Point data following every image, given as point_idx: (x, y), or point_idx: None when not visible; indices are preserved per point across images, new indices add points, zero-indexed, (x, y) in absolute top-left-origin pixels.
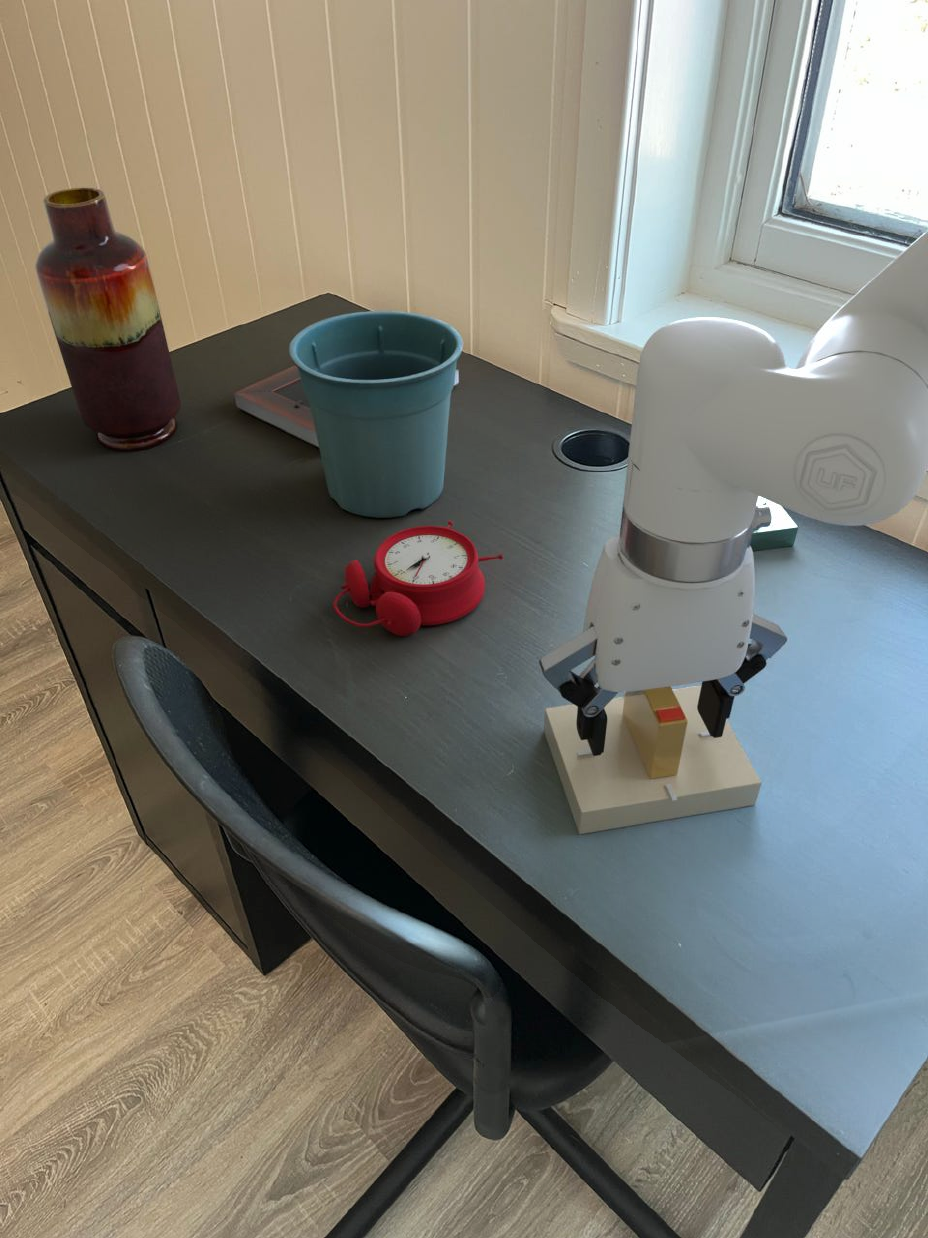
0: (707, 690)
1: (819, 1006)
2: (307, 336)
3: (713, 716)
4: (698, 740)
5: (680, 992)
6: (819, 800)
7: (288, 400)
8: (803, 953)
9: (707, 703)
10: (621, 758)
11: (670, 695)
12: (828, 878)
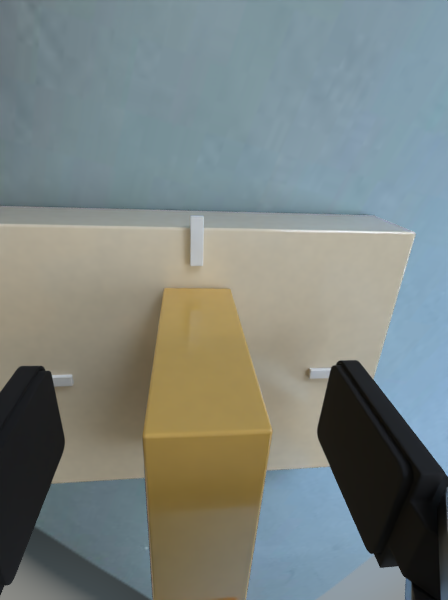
0: (372, 465)
1: (252, 587)
2: None
3: (340, 472)
4: (298, 381)
5: (131, 578)
6: (412, 423)
7: None
8: (266, 557)
9: (351, 445)
10: (125, 399)
11: (233, 579)
12: (343, 504)
